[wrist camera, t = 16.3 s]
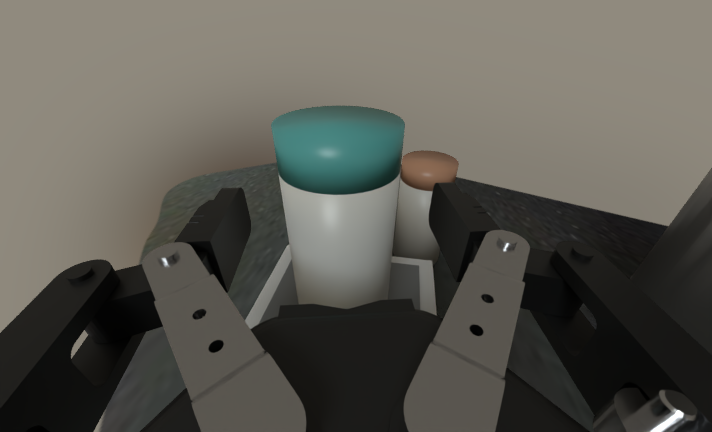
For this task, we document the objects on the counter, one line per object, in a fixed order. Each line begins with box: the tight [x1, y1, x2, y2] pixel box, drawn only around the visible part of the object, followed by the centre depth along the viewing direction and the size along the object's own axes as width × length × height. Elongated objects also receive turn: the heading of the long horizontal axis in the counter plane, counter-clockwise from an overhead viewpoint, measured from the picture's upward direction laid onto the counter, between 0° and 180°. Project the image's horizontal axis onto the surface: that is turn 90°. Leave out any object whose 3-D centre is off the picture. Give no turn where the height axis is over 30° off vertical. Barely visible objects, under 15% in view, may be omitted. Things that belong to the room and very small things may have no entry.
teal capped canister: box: [271, 106, 405, 309], centre depth 14 cm, size 5×5×11 cm
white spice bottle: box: [393, 151, 459, 265], centre depth 30 cm, size 5×5×11 cm
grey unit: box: [245, 245, 437, 329], centre depth 19 cm, size 11×11×7 cm
